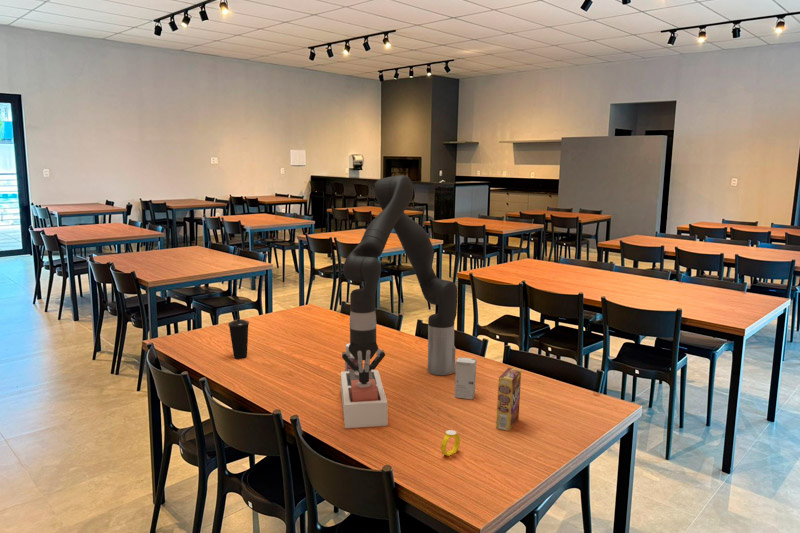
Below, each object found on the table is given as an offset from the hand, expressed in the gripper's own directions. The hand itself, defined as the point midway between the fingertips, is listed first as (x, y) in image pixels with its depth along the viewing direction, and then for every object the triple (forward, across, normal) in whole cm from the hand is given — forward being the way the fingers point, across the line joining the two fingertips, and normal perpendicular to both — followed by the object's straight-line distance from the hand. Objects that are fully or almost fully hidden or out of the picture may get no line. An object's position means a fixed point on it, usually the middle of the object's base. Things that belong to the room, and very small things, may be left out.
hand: (363, 383), depth 164 cm
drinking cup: (+10, +43, -59) cm, 74 cm away
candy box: (+10, -40, +11) cm, 43 cm away
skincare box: (+10, -33, -10) cm, 36 cm away
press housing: (+10, 0, -6) cm, 12 cm away
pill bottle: (+10, +1, -33) cm, 35 cm away
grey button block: (+9, 0, -12) cm, 15 cm away
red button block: (+8, 0, 0) cm, 8 cm away
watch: (+10, -20, +25) cm, 34 cm away
